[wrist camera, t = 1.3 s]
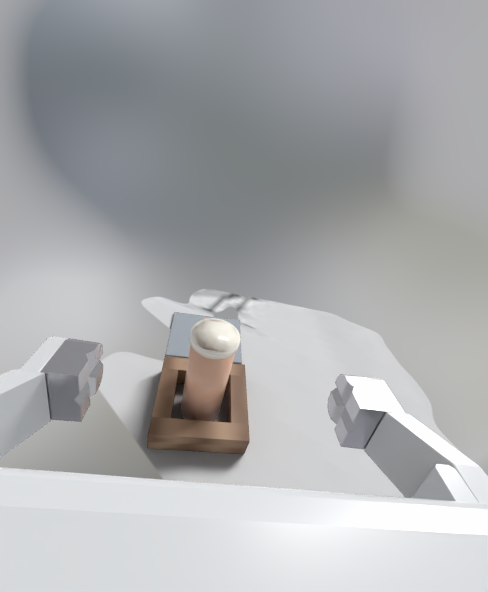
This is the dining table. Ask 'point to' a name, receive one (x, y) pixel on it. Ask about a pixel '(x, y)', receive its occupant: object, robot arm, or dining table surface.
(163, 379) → the walnut holder
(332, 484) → the dining table surface
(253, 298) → the dining table surface
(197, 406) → the peach tumbler
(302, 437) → the dining table surface
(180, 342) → the grey mat
